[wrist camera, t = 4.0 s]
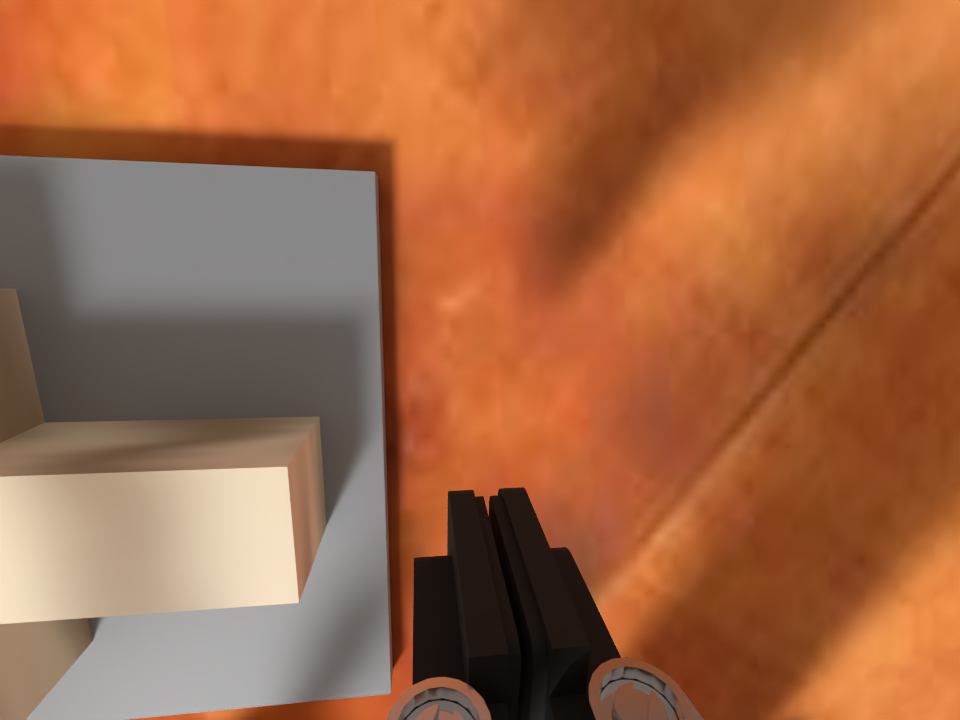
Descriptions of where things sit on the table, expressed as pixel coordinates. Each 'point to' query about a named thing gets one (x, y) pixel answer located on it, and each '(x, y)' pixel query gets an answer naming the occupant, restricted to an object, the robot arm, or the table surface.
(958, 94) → the table surface
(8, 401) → the t block
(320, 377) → the bay board
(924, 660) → the table surface
